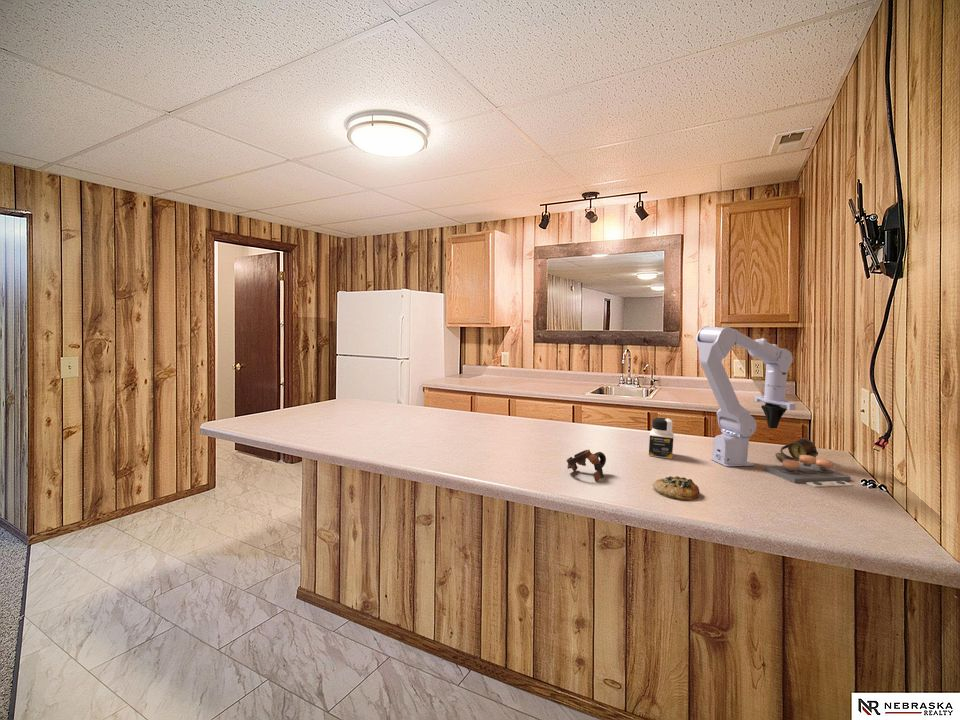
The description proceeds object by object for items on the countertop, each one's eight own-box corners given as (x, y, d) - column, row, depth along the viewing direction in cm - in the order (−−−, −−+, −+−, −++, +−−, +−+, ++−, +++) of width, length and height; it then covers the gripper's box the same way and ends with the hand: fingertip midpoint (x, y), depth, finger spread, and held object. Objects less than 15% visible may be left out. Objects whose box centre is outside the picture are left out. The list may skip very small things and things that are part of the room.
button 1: (789, 472, 135) (790, 463, 135) (778, 468, 139) (779, 459, 139) (801, 472, 136) (802, 463, 135) (790, 467, 140) (791, 459, 139)
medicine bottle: (648, 456, 154) (650, 419, 153) (649, 450, 160) (651, 415, 159) (672, 459, 151) (674, 422, 150) (672, 453, 158) (674, 417, 156)
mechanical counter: (829, 450, 147) (810, 435, 157) (788, 444, 147) (771, 430, 157) (822, 470, 149) (803, 454, 159) (781, 465, 149) (764, 449, 159)
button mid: (806, 467, 136) (807, 459, 136) (795, 463, 140) (796, 454, 139) (819, 467, 136) (819, 458, 136) (807, 463, 140) (808, 454, 140)
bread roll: (694, 486, 126) (695, 469, 125) (703, 508, 116) (704, 489, 114) (650, 484, 129) (650, 466, 128) (655, 504, 118) (655, 486, 117)
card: (814, 487, 129) (814, 485, 128) (805, 483, 131) (805, 481, 131) (852, 485, 130) (852, 483, 130) (842, 481, 133) (842, 480, 133)
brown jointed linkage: (591, 486, 126) (577, 457, 127) (570, 491, 134) (556, 463, 135) (620, 467, 133) (606, 440, 134) (598, 473, 140) (585, 447, 142)
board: (794, 482, 131) (794, 477, 131) (764, 470, 142) (764, 465, 142) (850, 480, 134) (850, 475, 134) (816, 468, 145) (817, 463, 145)
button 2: (823, 471, 137) (824, 462, 137) (811, 467, 141) (812, 458, 140) (835, 471, 137) (836, 462, 137) (823, 466, 141) (823, 458, 141)
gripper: (805, 389, 145) (802, 433, 146) (769, 382, 159) (766, 422, 160) (784, 389, 143) (781, 433, 145) (750, 382, 158) (747, 422, 159)
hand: (772, 427), depth 152 cm, fingers closed
